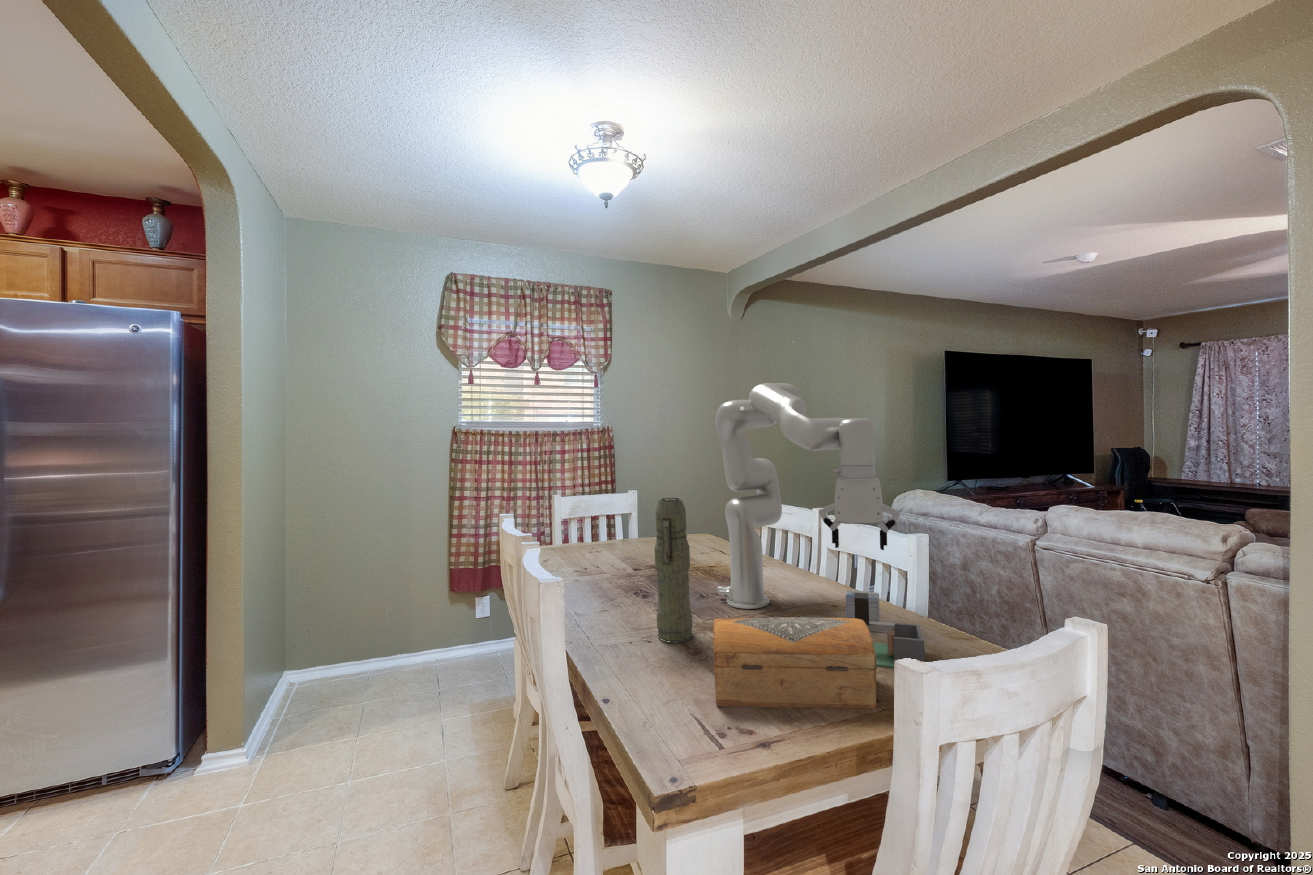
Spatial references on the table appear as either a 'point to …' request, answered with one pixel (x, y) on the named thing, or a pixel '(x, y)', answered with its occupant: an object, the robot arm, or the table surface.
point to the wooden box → (794, 663)
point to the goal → (908, 642)
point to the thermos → (672, 571)
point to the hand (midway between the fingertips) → (859, 547)
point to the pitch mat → (883, 655)
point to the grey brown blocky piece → (863, 614)
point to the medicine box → (873, 605)
